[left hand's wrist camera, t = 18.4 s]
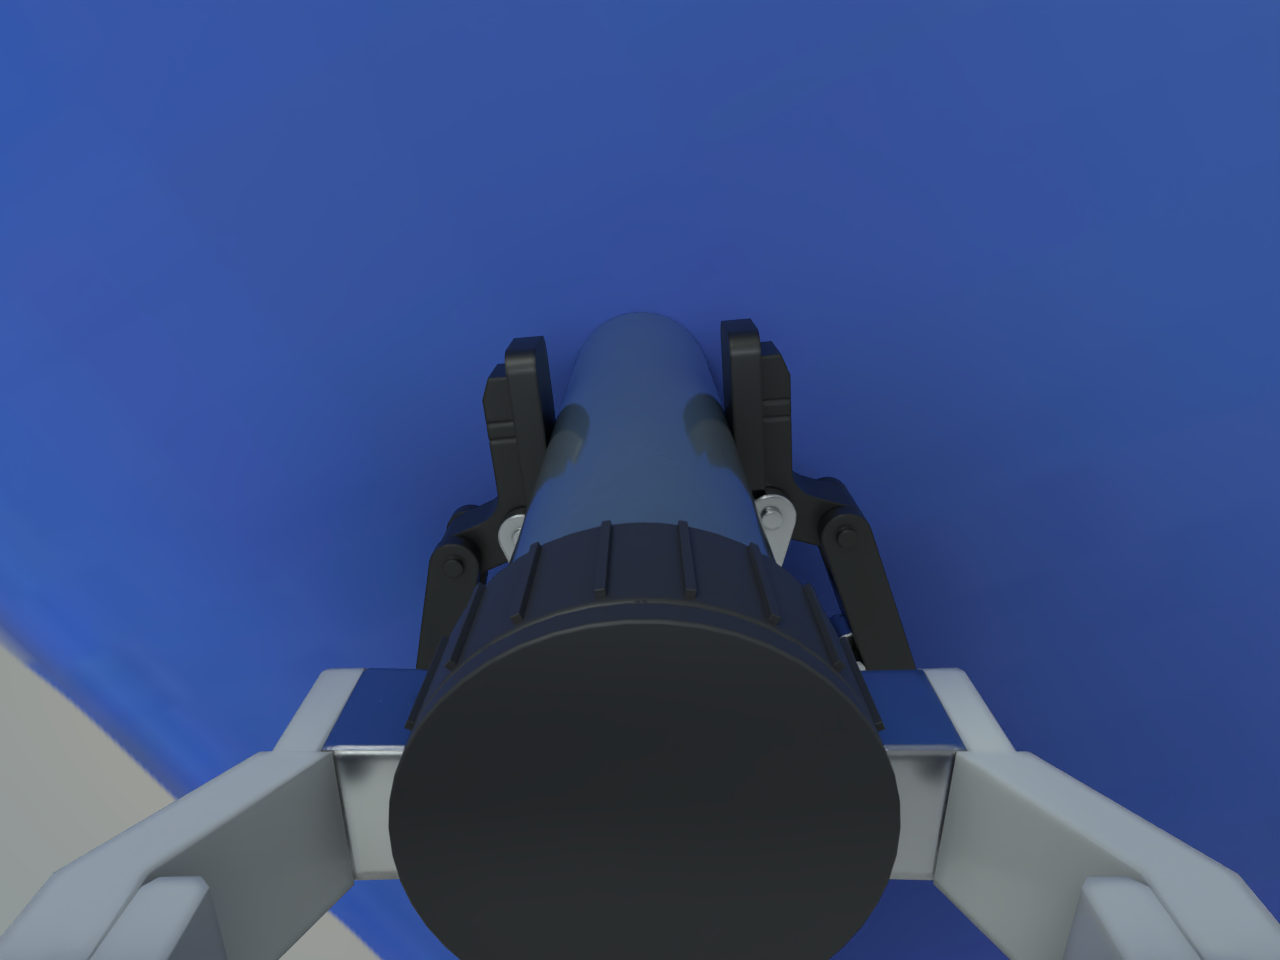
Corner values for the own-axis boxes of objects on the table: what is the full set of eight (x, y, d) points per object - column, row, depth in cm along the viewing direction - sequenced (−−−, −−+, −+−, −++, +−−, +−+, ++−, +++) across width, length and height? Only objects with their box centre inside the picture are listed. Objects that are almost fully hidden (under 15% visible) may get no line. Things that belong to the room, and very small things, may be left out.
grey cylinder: (556, 421, 27) (405, 884, 9) (597, 293, 25) (505, 564, 8) (682, 461, 27) (755, 972, 10) (728, 338, 26) (909, 685, 9)
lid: (895, 810, 11) (955, 962, 9) (526, 906, 12) (500, 1070, 9) (793, 455, 9) (838, 542, 7) (362, 591, 10) (286, 708, 8)
